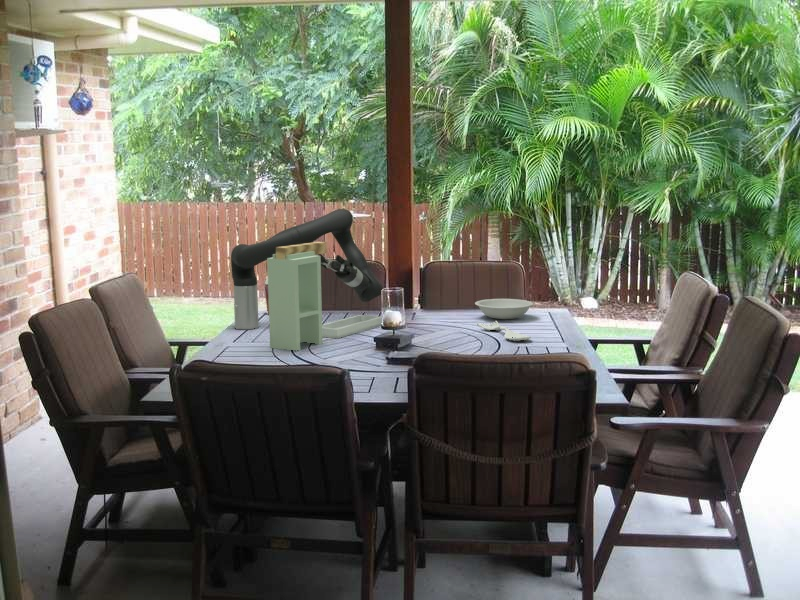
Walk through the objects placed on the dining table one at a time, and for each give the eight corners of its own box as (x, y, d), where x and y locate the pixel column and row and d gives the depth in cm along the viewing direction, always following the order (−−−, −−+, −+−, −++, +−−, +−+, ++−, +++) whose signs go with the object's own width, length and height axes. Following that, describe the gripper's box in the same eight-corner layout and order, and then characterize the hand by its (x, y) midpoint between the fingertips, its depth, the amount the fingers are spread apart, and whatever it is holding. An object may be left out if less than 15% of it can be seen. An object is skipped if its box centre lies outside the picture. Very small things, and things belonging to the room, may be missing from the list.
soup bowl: (542, 316, 379) (542, 301, 378) (517, 325, 359) (518, 309, 358) (491, 312, 392) (491, 297, 391) (464, 320, 372) (464, 304, 371)
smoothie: (288, 312, 395) (286, 267, 392) (279, 315, 387) (278, 269, 384) (270, 311, 398) (269, 266, 395) (262, 315, 390) (260, 269, 387)
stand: (296, 351, 315) (294, 255, 310) (270, 347, 321) (267, 254, 316) (322, 343, 328) (320, 251, 322) (296, 340, 334) (293, 250, 329)
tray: (337, 338, 336) (337, 329, 336) (313, 336, 342) (313, 326, 341) (382, 325, 362) (382, 316, 362) (360, 323, 368) (359, 314, 367)
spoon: (496, 328, 356) (496, 319, 355) (535, 343, 326) (535, 333, 325) (475, 329, 353) (475, 321, 352) (513, 345, 323) (513, 335, 322)
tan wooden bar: (285, 259, 312) (284, 247, 312) (276, 258, 314) (275, 247, 314) (326, 252, 332) (326, 242, 332) (317, 252, 334) (317, 241, 334)
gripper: (337, 264, 354) (315, 246, 341) (367, 266, 347) (345, 248, 334) (331, 281, 352) (309, 264, 339) (362, 284, 345) (340, 266, 332)
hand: (327, 256), depth 336 cm, fingers open, 8 cm apart
